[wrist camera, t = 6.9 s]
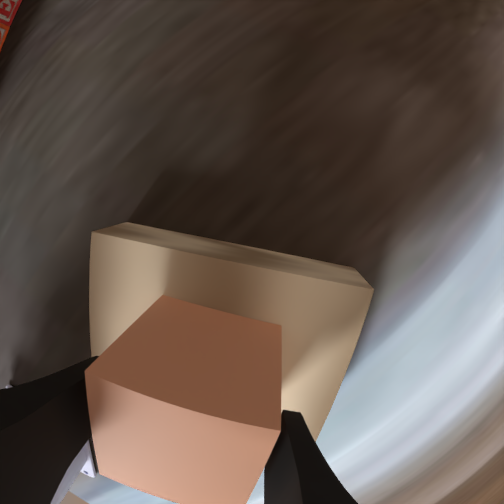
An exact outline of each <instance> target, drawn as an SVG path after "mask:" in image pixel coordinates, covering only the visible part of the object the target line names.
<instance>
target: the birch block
mask: <svg viewBox="0 0 504 504" xmlns="http://www.w3.org/2000/svg"><path fill="white" fill-rule="evenodd" d="M373 292H374V289H373V288H372V287H371V286H370V284H369V283H368V282H367V281H366V280H365V279H364V278H363V277H362V276H361V275H360V274H359V273H358V271H357V270H356V269H355V268H353V267H348V266H343V265H338V264H334V263H329V262H324V261H319V260H314V259H309V258H304V257H299V256H294V255H289V254H284V253H279V252H274V251H269V250H265V249H260V248H255V247H250V246H245V245H240V244H235V243H230V242H225V241H220V240H215V239H210V238H205V237H200V236H195V235H190V234H184V233H179V232H174V231H169V230H164V229H159V228H154V227H149V226H144V225H139V224H134V223H129V222H125V223H121V224H118V225H114V226H110V227H107V228H103V229H99V230H96V231H92V234H91V250H90V274H89V318H90V342H91V357H94V356H96V355H97V356H100V355H101V354H102V353H103V352H104V351H105V350H106V349H107V348H108V347H109V346H110V345H111V344H112V343H113V342H114V341H115V340H116V339H117V338H118V337H119V336H120V335H121V334H122V333H123V332H124V331H125V330H126V329H127V328H128V327H130V326H131V325H132V324H133V323H134V322H135V321H136V320H137V319H138V318H139V317H140V316H141V315H142V314H143V313H144V312H145V311H146V310H147V309H148V308H149V307H150V306H151V305H152V304H153V303H154V302H155V301H156V300H158V299H159V298H160V297H161V296H162V295H165V296H169V297H172V298H176V299H179V300H183V301H186V302H190V303H193V304H197V305H201V306H204V307H208V308H212V309H216V310H220V311H223V312H227V313H231V314H235V315H239V316H243V317H247V318H251V319H256V320H260V321H264V322H268V323H273V324H277V325H281V326H282V387H281V413H282V411H283V410H289V411H295V412H301V414H302V416H303V418H304V420H305V422H306V424H307V426H308V428H309V431H310V433H311V435H312V437H313V438H314V440H315V442H316V439H317V437H318V435H319V433H320V431H321V429H322V427H323V425H324V422H325V420H326V418H327V416H328V414H329V411H330V409H331V407H332V405H333V402H334V400H335V398H336V395H337V393H338V390H339V388H340V386H341V383H342V381H343V378H344V376H345V373H346V371H347V368H348V365H349V363H350V360H351V357H352V355H353V352H354V349H355V347H356V344H357V341H358V338H359V335H360V332H361V329H362V327H363V324H364V321H365V318H366V314H367V311H368V308H369V305H370V302H371V299H372V295H373Z"/></svg>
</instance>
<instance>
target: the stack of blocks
mask: <svg viewBox="0 0 504 504" xmlns="http://www.w3.org/2000/svg"><path fill="white" fill-rule="evenodd" d="M21 2H22V0H0V52H1V49H2V46H3V43H4V41H5V38H6V35H7V33H8V31H9V28H10V25H11V23H12V21H13V19H14V16H15V14H16V12H17V10H18V8H19V6H20V4H21Z"/></svg>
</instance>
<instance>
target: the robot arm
mask: <svg viewBox="0 0 504 504" xmlns="http://www.w3.org/2000/svg"><path fill="white" fill-rule="evenodd" d="M98 357H99V356H97V355H96V356H94V357H91V358H89V359H87V360H84V361H82V362H80V363H77V364H75V365H73V366H71V367H68V368H66V369H64V370H61V371H59V372H56V373H54V374H52V375H49V376H46V377H43V378H40V379H37V380H35V381H32V382H29V383H25V384H22V385H18V386H14V387H12V386H11V385H9V384H8V385H7V386H6V388H5V389H0V504H60V503H61V501H62V499H63V498H64V496H65V495H66V493H67V492H68V490H69V488H70V487H71V485H72V484H73V482H74V481H75V479H76V477H77V476H78V474H79V473H80V472H82V473H84V474H86V475H88V476H90V477H95V476H96V472H95V468H94V463H93V459H92V454H91V449H90V444H89V438H90V437H91V436H92V431H91V424H90V417H89V410H88V401H87V392H86V381H85V370H86V369H87V368H88V367H89V366H90V365H91V364H92V363H93V362H94V361H95V360H96V359H97V358H98ZM264 504H358V503H357V502H356V501H355V500H354V499H353V497H352V496H351V495H350V494H349V493H348V492H347V490H346V489H345V488H344V487H343V485H342V484H341V483H340V481H339V480H338V478H337V477H336V476H335V474H334V473H333V471H332V470H331V468H330V467H329V465H328V463H327V462H326V460H325V458H324V457H323V455H322V453H321V451H320V450H319V448H318V446H317V444H316V442H315V440H314V438H313V437H312V435H311V433H310V431H309V428H308V426H307V424H306V422H305V420H304V418H303V416H302V414H301V412H295V411H289V410H283V411H282V413H281V432H280V434H279V436H278V439H277V441H276V443H275V445H274V447H273V450H272V452H271V454H270V456H269V458H268V460H267V462H266V465H265V470H264Z"/></svg>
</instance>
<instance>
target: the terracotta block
mask: <svg viewBox="0 0 504 504" xmlns="http://www.w3.org/2000/svg"><path fill="white" fill-rule="evenodd" d="M85 381H86V392H87V401H88V410H89V417H90V424H91V431H92V437H93V443H94V448H95V454H96V459H97V464H98V468H99V473H100V474H101V475H103V476H105V477H108V478H110V479H112V480H115V481H117V482H119V483H122V484H124V485H127V486H129V487H132V488H134V489H137V490H140V491H142V492H145V493H148V494H151V495H154V496H157V497H160V498H163V499H166V500H169V501H172V502H176V503H179V504H246V503H247V501H248V499H249V497H250V495H251V493H252V491H253V489H254V487H255V485H256V483H257V481H258V479H259V477H260V475H261V473H262V471H263V469H264V467H265V465H266V462H267V460H268V458H269V456H270V454H271V452H272V450H273V447H274V445H275V443H276V441H277V439H278V436H279V434H280V432H281V387H282V326H281V325H277V324H273V323H268V322H264V321H260V320H256V319H251V318H247V317H243V316H239V315H235V314H231V313H227V312H223V311H220V310H216V309H212V308H208V307H204V306H201V305H197V304H193V303H190V302H186V301H183V300H179V299H176V298H172V297H169V296H165V295H162V296H161V297H160V298H159V299H158V300H156V301H155V302H154V303H153V304H152V305H151V306H150V307H149V308H148V309H147V310H146V311H145V312H144V313H143V314H142V315H141V316H140V317H139V318H138V319H137V320H136V321H135V322H134V323H133V324H132V325H131V326H130V327H128V328H127V329H126V330H125V331H124V332H123V333H122V334H121V335H120V336H119V337H118V338H117V339H116V340H115V341H114V342H113V343H112V344H111V345H110V346H109V347H108V348H107V349H106V350H105V351H104V352H103V353H102V354H101V355H100V356H99V357H98V358H97V359H96V360H95V361H94V362H93V363H92V364H91V365H90V366H89V367H88V368H87V369H86V370H85Z"/></svg>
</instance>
